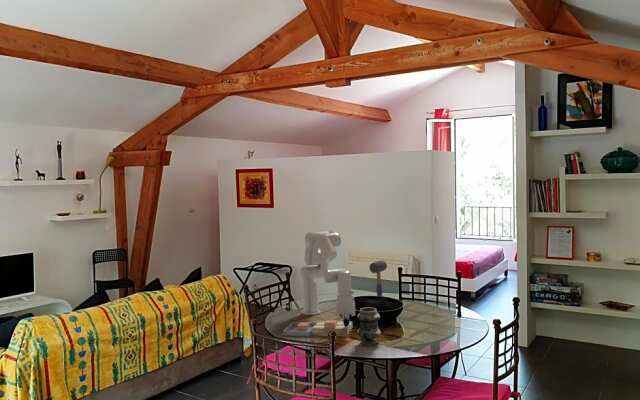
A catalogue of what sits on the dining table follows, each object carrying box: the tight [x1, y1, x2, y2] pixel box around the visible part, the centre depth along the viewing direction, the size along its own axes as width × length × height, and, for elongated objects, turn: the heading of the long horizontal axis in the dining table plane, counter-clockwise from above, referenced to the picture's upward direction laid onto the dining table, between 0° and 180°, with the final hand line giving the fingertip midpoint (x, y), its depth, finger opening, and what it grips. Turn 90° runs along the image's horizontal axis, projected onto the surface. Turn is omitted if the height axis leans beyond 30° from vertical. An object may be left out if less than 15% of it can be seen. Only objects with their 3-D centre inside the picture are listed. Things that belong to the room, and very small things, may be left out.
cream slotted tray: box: [311, 320, 354, 337], centre depth 287 cm, size 15×20×4 cm
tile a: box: [297, 323, 310, 331], centre depth 294 cm, size 6×6×3 cm
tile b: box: [324, 319, 338, 328], centre depth 283 cm, size 6×6×3 cm
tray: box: [282, 321, 318, 338], centre depth 291 cm, size 19×16×2 cm
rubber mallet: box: [368, 260, 388, 298], centre depth 341 cm, size 12×8×30 cm, turn 141°
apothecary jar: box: [356, 306, 382, 347], centre depth 263 cm, size 12×12×18 cm
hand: (346, 325), depth 281 cm, fingers closed
